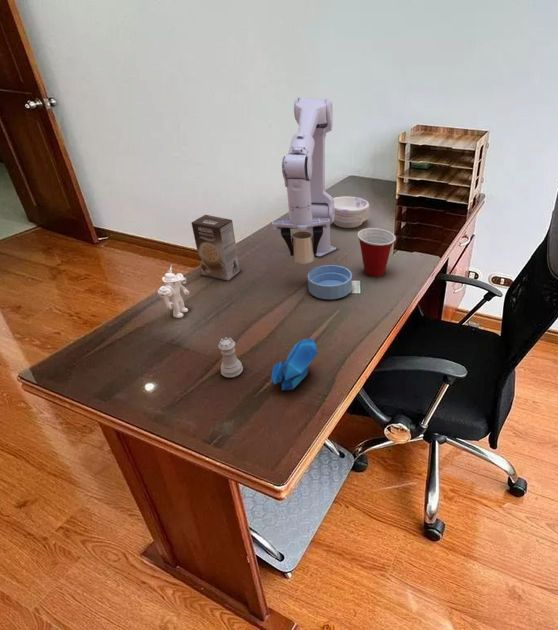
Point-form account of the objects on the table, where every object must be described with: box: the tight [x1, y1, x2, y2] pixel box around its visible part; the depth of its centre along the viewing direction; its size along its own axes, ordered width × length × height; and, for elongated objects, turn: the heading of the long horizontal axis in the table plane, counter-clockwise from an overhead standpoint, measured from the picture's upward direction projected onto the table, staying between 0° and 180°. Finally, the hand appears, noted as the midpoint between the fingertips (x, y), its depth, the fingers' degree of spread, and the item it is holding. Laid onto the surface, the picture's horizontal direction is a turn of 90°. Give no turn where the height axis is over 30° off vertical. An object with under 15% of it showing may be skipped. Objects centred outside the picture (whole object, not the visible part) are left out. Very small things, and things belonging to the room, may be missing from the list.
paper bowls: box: [332, 195, 370, 229], centre depth 158 cm, size 15×15×8 cm
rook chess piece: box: [217, 336, 244, 379], centre depth 89 cm, size 4×4×8 cm
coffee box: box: [191, 214, 241, 281], centre depth 122 cm, size 9×6×16 cm
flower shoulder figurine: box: [157, 264, 190, 319], centre depth 105 cm, size 9×4×12 cm, turn 169°
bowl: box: [306, 264, 353, 300], centre depth 119 cm, size 12×12×4 cm
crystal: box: [270, 338, 319, 391], centre depth 88 cm, size 7×9×12 cm
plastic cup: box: [357, 227, 396, 278], centre depth 126 cm, size 11×11×12 cm
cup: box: [291, 230, 315, 265], centre depth 116 cm, size 6×6×7 cm
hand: (303, 253), depth 117 cm, fingers closed on cup, 5 cm apart
